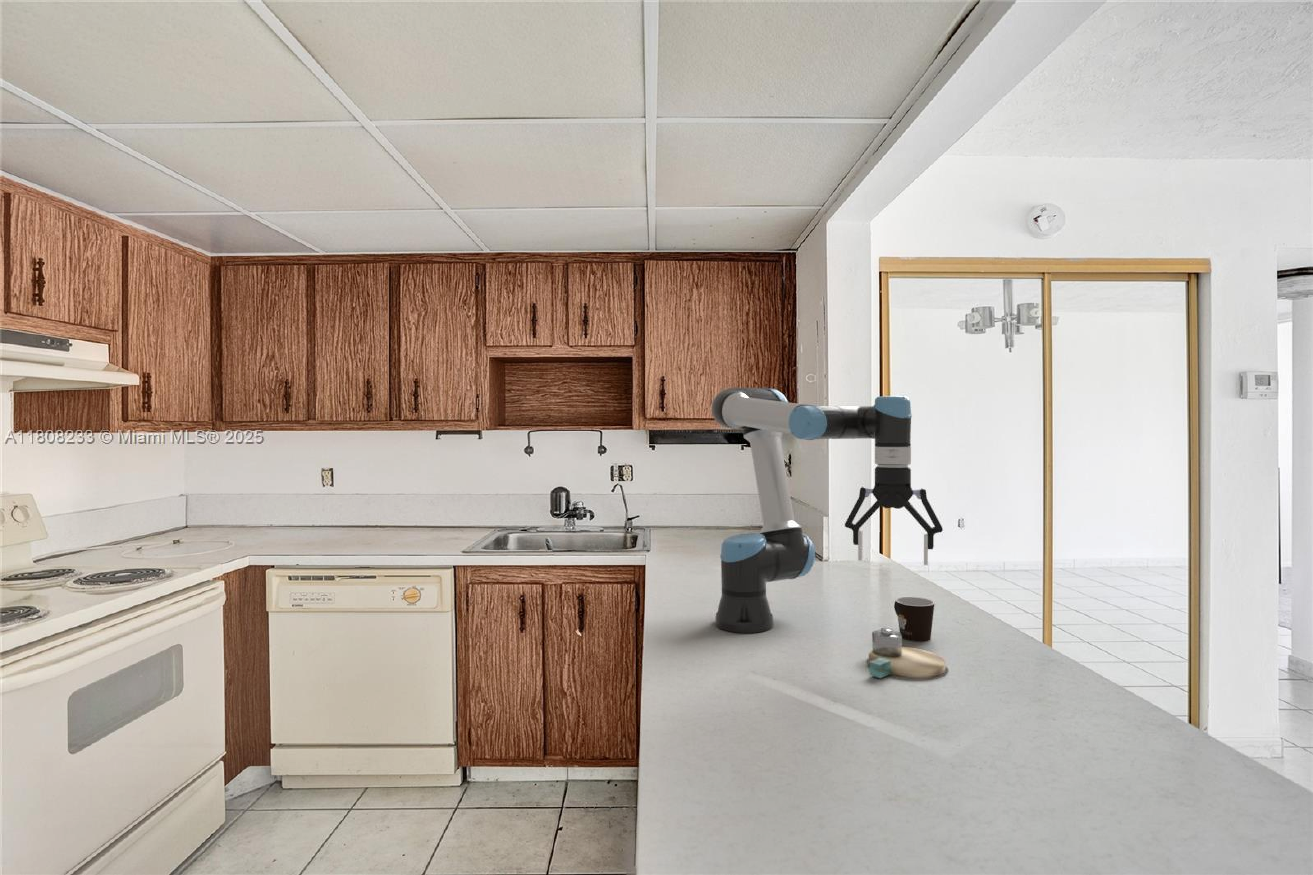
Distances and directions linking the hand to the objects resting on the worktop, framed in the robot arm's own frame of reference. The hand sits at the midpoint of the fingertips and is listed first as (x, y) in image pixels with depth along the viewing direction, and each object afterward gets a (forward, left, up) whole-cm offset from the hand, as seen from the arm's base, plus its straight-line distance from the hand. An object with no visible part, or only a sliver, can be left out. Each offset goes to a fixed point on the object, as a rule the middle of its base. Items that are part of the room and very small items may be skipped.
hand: (892, 561), depth 144 cm
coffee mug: (-4, +15, -22) cm, 26 cm away
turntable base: (+6, -5, -22) cm, 23 cm away
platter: (+6, -7, -20) cm, 22 cm away
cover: (+2, -5, -19) cm, 19 cm away
